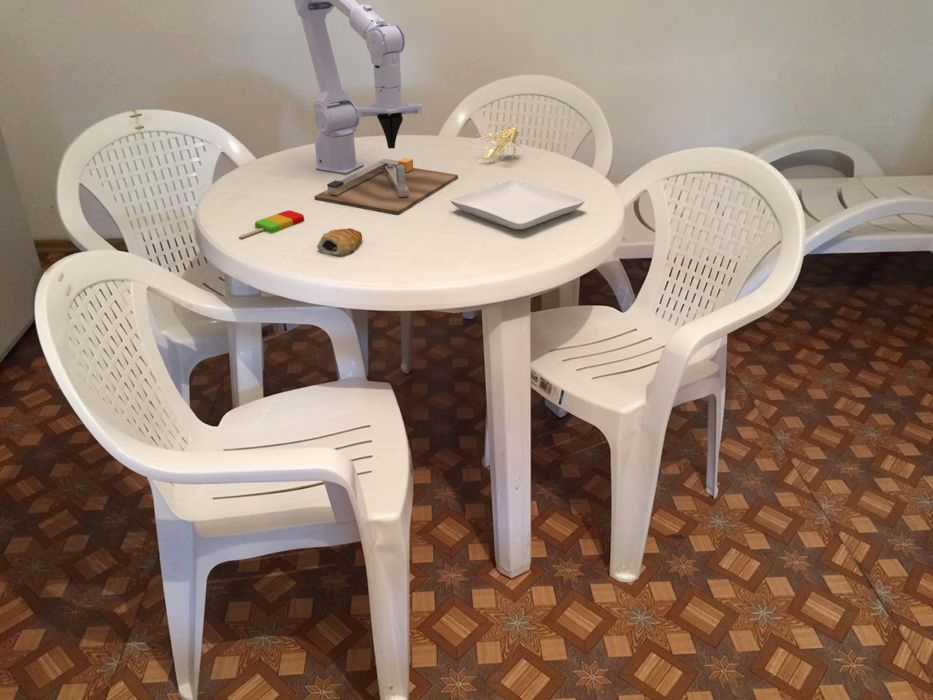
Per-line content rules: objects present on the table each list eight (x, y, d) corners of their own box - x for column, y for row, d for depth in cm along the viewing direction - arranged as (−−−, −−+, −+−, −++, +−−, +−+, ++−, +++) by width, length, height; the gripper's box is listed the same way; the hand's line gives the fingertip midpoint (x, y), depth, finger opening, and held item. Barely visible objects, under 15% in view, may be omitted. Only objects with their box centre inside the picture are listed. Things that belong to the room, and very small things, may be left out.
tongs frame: (385, 165, 181) (384, 156, 180) (402, 167, 179) (402, 159, 178) (328, 193, 163) (327, 184, 162) (347, 197, 161) (346, 187, 160)
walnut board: (381, 166, 184) (381, 162, 184) (458, 178, 176) (458, 174, 175) (314, 199, 163) (314, 196, 163) (398, 215, 154) (398, 211, 154)
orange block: (405, 167, 180) (404, 157, 178) (413, 168, 179) (412, 159, 177) (398, 170, 177) (398, 161, 176) (407, 172, 176) (406, 162, 175)
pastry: (343, 236, 145) (341, 218, 143) (371, 242, 143) (370, 224, 141) (315, 253, 138) (313, 234, 136) (344, 259, 136) (342, 240, 134)
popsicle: (307, 222, 152) (306, 214, 151) (249, 245, 142) (247, 236, 141) (290, 217, 155) (288, 208, 154) (231, 238, 145) (230, 229, 144)
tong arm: (385, 173, 176) (384, 148, 173) (394, 172, 176) (393, 147, 173) (399, 197, 161) (397, 170, 158) (409, 196, 161) (407, 169, 158)
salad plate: (513, 190, 169) (514, 176, 167) (586, 214, 156) (587, 198, 154) (447, 213, 156) (447, 198, 155) (520, 240, 143) (520, 224, 142)
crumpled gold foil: (470, 169, 191) (460, 139, 184) (509, 138, 195) (500, 108, 189) (500, 179, 183) (490, 149, 177) (539, 147, 188) (531, 116, 182)
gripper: (357, 91, 154) (362, 154, 161) (424, 87, 157) (425, 149, 164) (353, 84, 160) (357, 145, 167) (417, 81, 163) (419, 141, 170)
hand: (391, 147), depth 166 cm, fingers closed
